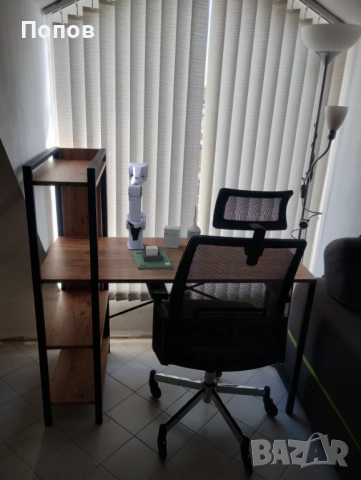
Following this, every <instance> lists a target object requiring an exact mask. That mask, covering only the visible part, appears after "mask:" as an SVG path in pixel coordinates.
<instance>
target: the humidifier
mask: <svg viewBox="0 0 361 480" xmlns="http://www.w3.org/2000/svg"><path fill="white" fill-rule="evenodd" d="M199 214H200V213H199V212H198V216H199ZM196 218H197V205H196V204H195V205H194V215H193V224H192V225H190V226H189V227H188V228H187V232H186V233H187V234H186V243H187V242H188V240H189V238H190V237H191V236H192V235H195V234H196V235H201V236H202V231H201V228H200V227H199V225H198V224H196V223H197V222H196ZM199 219H200V217H198V220H199ZM186 246H187V245H185V247H186Z"/></svg>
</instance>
